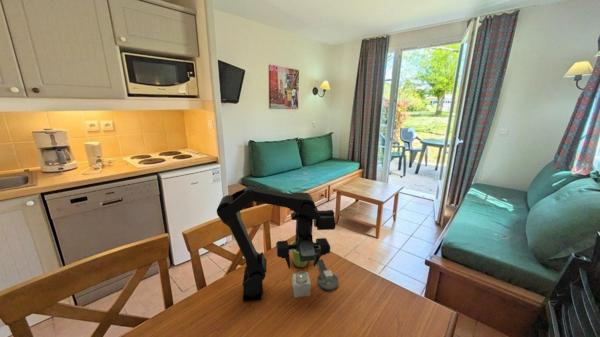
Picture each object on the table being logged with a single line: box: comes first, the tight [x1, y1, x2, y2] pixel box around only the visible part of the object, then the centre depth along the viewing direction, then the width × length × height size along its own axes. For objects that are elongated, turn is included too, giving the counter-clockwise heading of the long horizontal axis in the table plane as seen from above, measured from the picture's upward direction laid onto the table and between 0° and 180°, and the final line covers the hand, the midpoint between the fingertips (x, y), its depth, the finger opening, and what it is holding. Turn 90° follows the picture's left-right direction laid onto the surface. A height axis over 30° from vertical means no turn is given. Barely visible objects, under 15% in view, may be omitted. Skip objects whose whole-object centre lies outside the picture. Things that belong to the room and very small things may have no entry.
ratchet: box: [316, 258, 339, 293], centre depth 97 cm, size 16×8×5 cm, turn 10°
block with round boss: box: [291, 270, 312, 298], centre depth 89 cm, size 6×6×7 cm
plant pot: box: [290, 240, 309, 268], centre depth 103 cm, size 9×9×9 cm
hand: (301, 267), depth 86 cm, fingers open, 9 cm apart
